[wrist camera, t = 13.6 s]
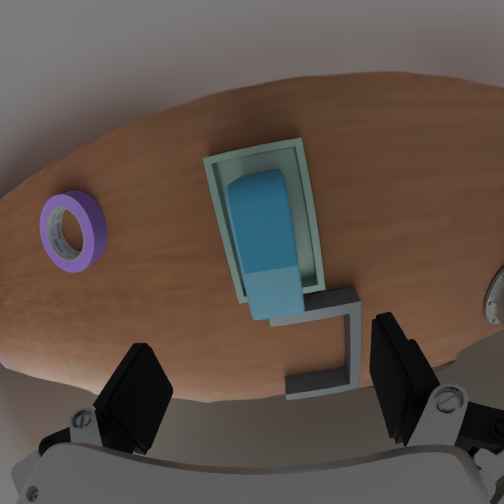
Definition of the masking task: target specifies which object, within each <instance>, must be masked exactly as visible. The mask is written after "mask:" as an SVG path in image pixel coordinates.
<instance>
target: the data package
mask: <svg viewBox="0 0 504 504" xmlns="http://www.w3.org/2000/svg"><path fill="white" fill-rule="evenodd" d="M225 201H226V207H227V212H228V216H229V221H230V225H231V230H232V234H233V239H234V243H235V247H236V252H237V256H238V260H239V265H240V269H241V273H242V278H243V282H244V286H245V290H246V295H247V299H248V303H249V307H250V311H251V315H252V317H253V319H254V320H263V319H270V318H278V317H285V316H292V315H299V314H303V313H304V312H305V307H304V299H303V291H302V284H301V276H300V269H299V262H298V255H297V249H296V242H295V236H294V229H293V223H292V217H291V211H290V205H289V199H288V194H287V188H286V183H285V179H284V176H283V174H282V172H281V170H280V169H277V170H271V171H266V172H260V173H255V174H249V175H244V176H241V177H239V178H238V179H236V180H234V181H233V182H231V183H230V184H228V185H227V186H226V188H225Z"/></svg>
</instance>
